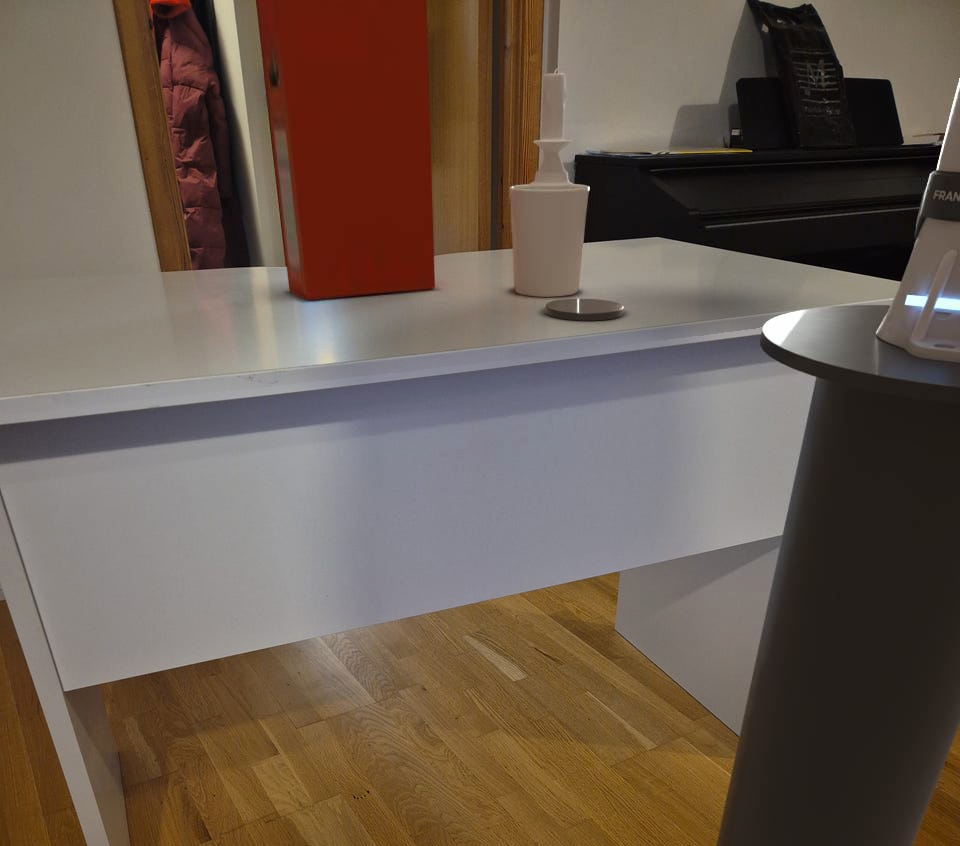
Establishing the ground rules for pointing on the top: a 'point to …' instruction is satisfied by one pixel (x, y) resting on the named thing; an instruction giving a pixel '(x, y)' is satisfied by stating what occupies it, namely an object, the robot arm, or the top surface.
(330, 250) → the file binder
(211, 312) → the top surface
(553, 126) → the candle
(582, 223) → the white tapered cup
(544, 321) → the top surface
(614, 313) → the slate coaster
